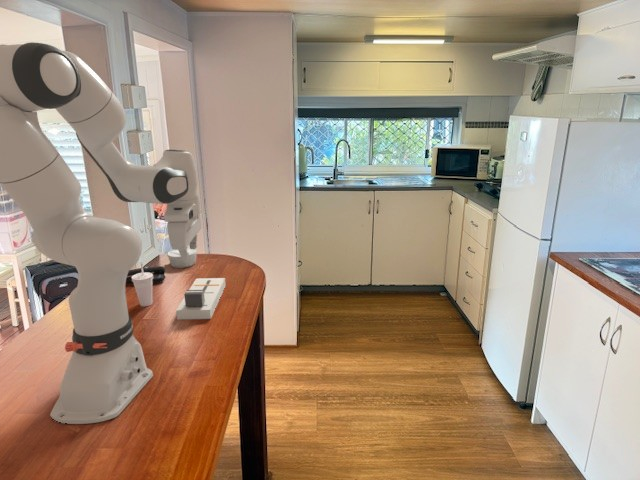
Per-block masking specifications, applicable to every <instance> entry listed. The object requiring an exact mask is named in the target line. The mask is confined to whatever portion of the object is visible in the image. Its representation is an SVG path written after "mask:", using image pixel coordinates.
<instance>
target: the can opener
mask: <svg viewBox="0 0 640 480" xmlns="http://www.w3.org/2000/svg"><path fill="white" fill-rule="evenodd" d="M143 271H144V272H149V273H152V274H153V279H152V285H157V284H159V283H162V282H164V281H165V279H166V275H165V274H166V269H165V267H164V266H162V265H161V266H159V265H155V266H151V267H150V266H149V267H148V266H143ZM138 273H142V271H141V267H140V268H135V269H130V270H129V272H128V274H127V278H126V284H127V283H128V284H129V283H133V282H132V276H133V275H135V274H138Z"/></svg>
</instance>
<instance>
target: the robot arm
mask: <svg viewBox="0 0 640 480" xmlns="http://www.w3.org/2000/svg"><path fill="white" fill-rule="evenodd" d="M46 109H48V110H53V109H55V110H56V112H57V113H58V114H59V115H60V116H61V117H62V118H63V119H64V120H65V121H66V123H68V124H69V126H70V127H71V128H72V129H73V130H74V131H75V135H76V138H77V141H79V144H80V145H81V146H82V149H84V151H85V152H87V154H88V156H89V157H90V158H91V160H92V161H93V162H94V163H95V164H96V166H97V167H98V168H99V169H100V171H102V173H103V174H104V175H105V177H106V179H107V180H108V183H109V184H110V187H111V189H112V192H113V193H114V195H115V197H117V198H118V199H120V201H122V202H125V203H144V204H145V203H146V204H159V205H166V209H165V211H164V215H163V219H164V220H163V221H165V222H167V224H166V227H167V228H166V229H167V234H168V240H169V243H170V247H171V248H172V249H171V250H178V251H179V253H180V255H181V260H182V261H187V260H188V259H189V253H188V252H187V247H190V249H196V250H197V248H198V243H197V242H198V233H199V232H200V231H201V229H202V220H201V212H202V210H201V209H202V208H201V198H200V194H199V191H198V183H199V181H198V180H199V179H198V171H197V170H198V169H197V165H196V161H195V157H194V155H193V154H192V153H191V152H190V151H188V150H182V149H165V150H164V151H163V153H162V157H161V158H160V159H159V160H158V161H156V163H154V164H152V165H145V164H143V165H141V164H136V163H132V162H130V161H128V160H126V159H125V157H124V156H123V155H122V153H121V152H120V150H119V148H117V146H116V145H115V143H114V141H115V140H116V139H117V138H118V137H120V134H121V133H122V131H123V130H124V128H125V125H126V122H127V116H126V115H127V113H126V111H125V108H124V107H123V105H122V103H121V102H120V100H119V98H118V97H117V96H116V95H115V94H114V92H113V91H112V90H111V89H110V87H109V86H108V84H106V83H105V81H104V80H103V79H102V78H101V77H100V76H99V74H98V73H96V72H95V71H94V70H93V69H92V68H91V67H90V66H89V64H87V62H85V61H84V60H83V59H81V58H80V57H79V55H77V54H75V53H73V52H70V51H68V50H61V49H60V48H58V47H56V46H53V45H51V44H47V43H43V42H32V41H31V42H26V43H23V44H22V43H21V44H20V43H18V44H0V186H1V188H2V189H4V191H5V192H6V193H7V195H8V196H9V197H10V198H11V199H12V201H13V202H14V203H15V204H16V206H18V208H19V209H20V210H21V211H22V213H23V215H24V216H25V218H27V220H28V223H29V224H30V227H31V229H32V231H33V234H32V239H33V244H34V247H35V248H36V249H37V251H38V252H39V253H40V254H42V255H43V256H45V257H47V258H48V259H50V260H52V261H54V262H55V263H59V264H63V265H67V266H72V267H75V269H76V271H77V273H78V274H77V276H78V279H77V287H75V288H74V289H73V290H72V291H71V292H70V294H69V297H68V305H69V310H70V314H71V319H72V323H73V329H72V335H71V340H72V341H68V342H66V343H65V346H64V350H65V352H67V353H70V352H72V353H71V356H70V358H69V360H68V364H67V365H66V370H65V371H64V374H63V377H62V380H61V383H60V385H59V387H60V388H59V397H58V398H57V400H56V402H55V404H54V406H53V408H52V410H51V412H50V413H49V415H50V416H51V417H52V418H53V419H54V420H56V421H58V422H57V423H59V422H61V423H60V424H65V423H67V425H85V424H96V423H101V422H106V421H108V420H111V419H114V418H117V417H118V416H119V415H120V414H121V413H122V412H123V411H124V410H125V409H126V407H127V406H128V405H129V404H130V403H131V402H132V401H133V400H134V399H135V397H136V396H137V395H138V394H139V393H140V391H142V390H143V388H144V387H145V386H146V385H147V384H148V382H149V381H150V380H151V379H152V378H153V376H154V373H153V371H152V369H150V368H148V367H147V364H146V360H145V356H144V352H143V348H142V344H141V343H140V342H139V341H138V340H137V339H136V337H135V336H134V328H133V327H134V324H133V321H132V318H131V316H130V315H129V309H128V305H127V304H128V302H127V295H126V284H127V283H126V278H127V277H128V276H127V274H128V272H129V270H132V269H133V267H135V266H136V265H137V263H138V262H139V260H140V258H141V255H142V251H143V242H142V241H143V240H142V239H141V238H142V237H141V236H140V233H139V232H138V231H137V230H135V229H134V228H133V227H131V226H129V225H127V224H124V223H122V222H121V221H118V220H115V219H111V218H110V219H109V218H103V217H96V216H93V215H91V214H90V213H88V211H86V210H85V209H84V207H83V205H82V203H81V200H80V196H81V193H82V186H81V182H80V181H79V179H78V178H77V176H76V175H75V174H74V172H73V171H72V170H71V168H70V167H69V165H68V164H67V162H66V161H65V159H64V158H63V156H62V155H61V154H60V152H59V151H58V150H57V148H56V147H55V146H54V144H53V143H52V141H50V139H49V137H47V135H46V134H45V133H44V131H43V130H42V128H41V124H40V123H39V118H38V111H39V112H40V111H43V110H46ZM50 416H49V417H50ZM63 416H64V417H63ZM54 420H53V421H54ZM56 421H55V422H56Z"/></svg>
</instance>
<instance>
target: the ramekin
mask: <svg viewBox="0 0 640 480" xmlns="http://www.w3.org/2000/svg"><path fill="white" fill-rule="evenodd" d="M187 252H188V253H189V259H188V260H187V261H182V260H181V255H180V253H179V251H178V250H173V249H171V250H169V251H168V252H167V258H168V260H169V264H170V266H172V267H173V268H177V269H184V268H189V267H192V266H194V265H195V264H196V262H197V254H198V251H197V248H196V249H190V246H187Z"/></svg>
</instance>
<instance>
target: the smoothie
mask: <svg viewBox="0 0 640 480" xmlns="http://www.w3.org/2000/svg"><path fill="white" fill-rule="evenodd" d="M140 268H141V271H142V273H138V274H135V275H132V282H131V283H133V286H134V289H135V293H136V295H137V299H138V302H139V305H140V307H149V306H152V304H153V284H152V279H153V274H152V273H153V272H152V273H149V272H144V271H143V268H144V265H143V261H140Z"/></svg>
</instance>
